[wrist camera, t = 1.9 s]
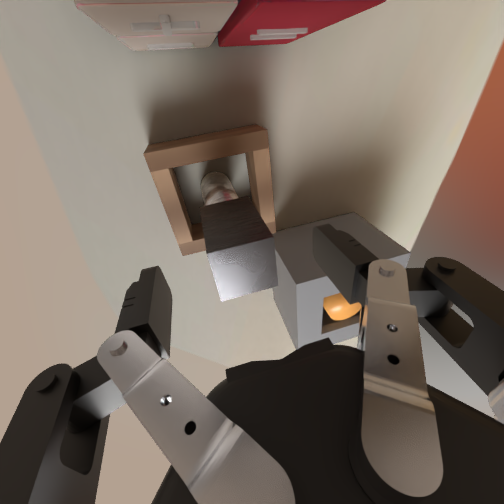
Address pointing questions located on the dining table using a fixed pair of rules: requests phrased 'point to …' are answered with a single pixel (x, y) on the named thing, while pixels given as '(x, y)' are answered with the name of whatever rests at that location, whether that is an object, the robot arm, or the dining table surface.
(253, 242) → the stylus
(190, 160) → the wooden square frame
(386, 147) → the dining table surface
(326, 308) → the button
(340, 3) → the calculator
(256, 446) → the robot arm
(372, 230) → the guard box
